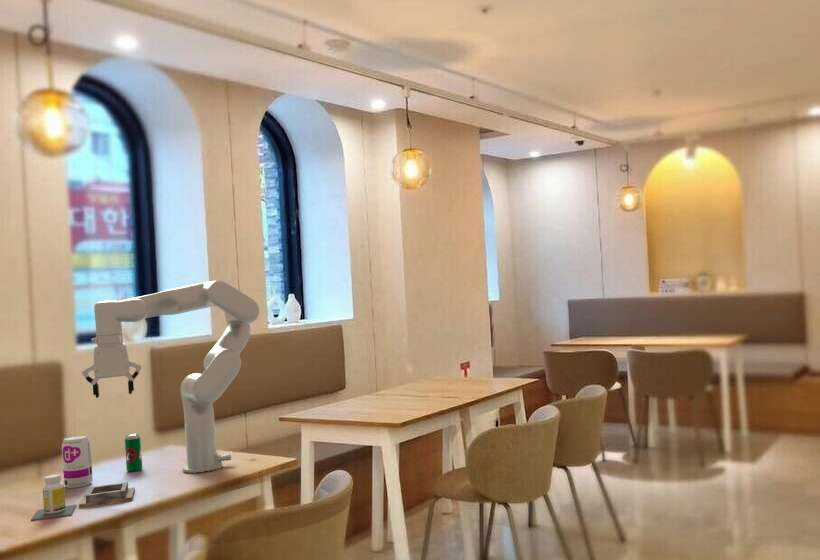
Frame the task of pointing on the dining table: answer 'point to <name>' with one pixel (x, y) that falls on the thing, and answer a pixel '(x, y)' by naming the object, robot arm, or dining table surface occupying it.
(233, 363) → the robot arm
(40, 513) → the mat
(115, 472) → the dining table surface
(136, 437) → the soda can
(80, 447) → the supplement can
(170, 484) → the dining table surface
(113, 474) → the dining table surface
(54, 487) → the supplement bottle
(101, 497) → the block
